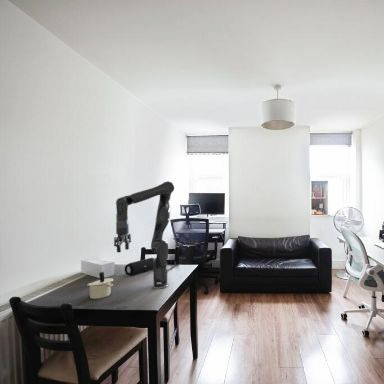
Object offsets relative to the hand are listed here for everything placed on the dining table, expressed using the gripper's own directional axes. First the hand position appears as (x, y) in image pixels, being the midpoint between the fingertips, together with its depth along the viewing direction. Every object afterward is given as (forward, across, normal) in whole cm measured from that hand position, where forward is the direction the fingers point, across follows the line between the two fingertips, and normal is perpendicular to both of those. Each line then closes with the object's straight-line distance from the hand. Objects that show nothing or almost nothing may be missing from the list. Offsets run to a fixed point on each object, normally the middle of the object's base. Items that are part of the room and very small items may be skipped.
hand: (123, 250), depth 178 cm
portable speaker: (+28, +44, +14) cm, 54 cm away
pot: (+28, -8, +11) cm, 31 cm away
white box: (+28, +36, +49) cm, 67 cm away
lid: (+19, -8, +10) cm, 22 cm away
